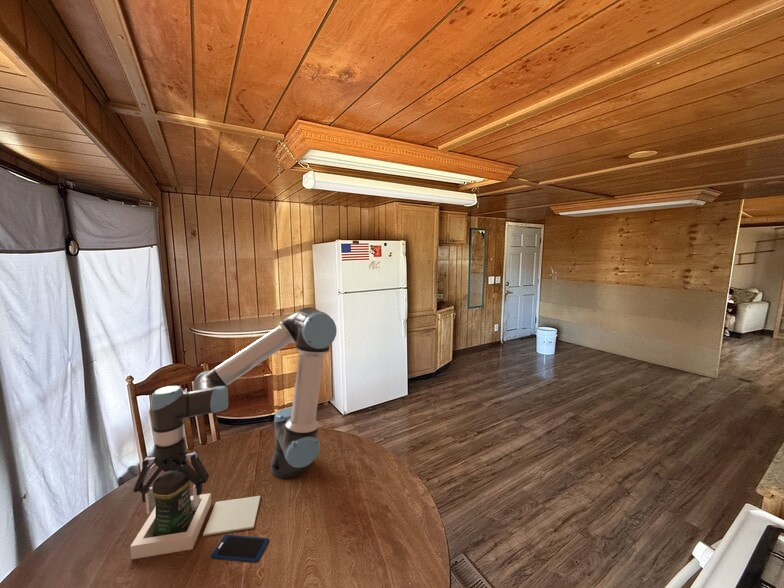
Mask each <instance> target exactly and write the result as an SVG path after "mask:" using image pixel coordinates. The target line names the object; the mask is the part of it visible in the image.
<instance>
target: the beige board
mask: <svg viewBox="0 0 784 588" xmlns="http://www.w3.org/2000/svg"><path fill="white" fill-rule="evenodd" d="M261 497H262V496H261V495H256V496H248V497H242V498H236V499H233V498H232V499H226V500H220V501H216V502H215V503H214V506H213V509H212V512H211V514H210V516H209V519H208V521H207V523H206V526H205V529H204V531H203V534H202V536H203V537H207V536H213V535H218V534H220V535H221V534H224V533H225V534H226V533H230V532H231V533H232V532H236V531H237V532H239V531H242V530H243V531H244V530H248V529H249V530H250V529H254V528H255V523H256V519H257V514H258V511H259V506H260V501H261Z"/></svg>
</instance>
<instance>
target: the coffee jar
mask: <svg viewBox="0 0 784 588" xmlns="http://www.w3.org/2000/svg"><path fill="white" fill-rule="evenodd" d="M181 466H182V465H181ZM191 483H192V482H191V481H190V480H189V479H188V478H187V477H186V476H185V475H184V474H183V473H182V472H179V471H178V470H175V471H171V470H170V471H167V472H164V473H162V474H161V475H160V476H159V477H157V478H155V480H154V481H153V482H152V487H153V498H154V499H155V507H156V517H155V533H154V537H156V536H163V535H169V534H175V533H182V532H186V531H187V530H188V528H189V526H190V523H191V521H192V519H193V517H194V511H192V505H191V498H190V496H191V491H190V490H191V489H190V487H191Z"/></svg>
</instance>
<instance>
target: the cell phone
mask: <svg viewBox="0 0 784 588" xmlns="http://www.w3.org/2000/svg"><path fill="white" fill-rule="evenodd" d="M269 542H270V539H269V538H267V537H259V536H247V535H235V534H225V535H224V536H223V537H222V539H221V540H220V542H219V543H218V545H217V546H216V547H215V549H214V550H213V552H212V553H211V554H210V558H211V559H215V560H224V561H225V560H226V561H236V562H245V563H258V562H259V561H260V560H261V558H262V556H263V554H264V553H265V550H266V549H267V546H268V544H269Z"/></svg>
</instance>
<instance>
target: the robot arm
mask: <svg viewBox="0 0 784 588" xmlns="http://www.w3.org/2000/svg"><path fill="white" fill-rule="evenodd" d="M337 329H338V328H337V325H336V323H335V321H334V319H333V318H332V317H331V316H330V315H328V314H327V313H326V312H324V311H321V310H319V309H316V308H315V307H309V306H307V307H302V308H301V309H299V310H296V311H295V312H293V313H292V314H290V315H288V316H287V317H285V318H284V319H283V320H281V321H280V322H279V324H278V326H277V327H275V328H274V329H272V330H271V331H269V332H268V333H266V334H264V335H263V336H261V337H260V338H259V339H257V340H255V341H254V342H252V343H251V344H250V345H248V346H247V347H245V348H243V349H242V350H240V351H239V352H237V353H235V354H234V355H233V356H231V357H229V358H227V359H226V360H224V361H223V362H222V363H220V364H219V365H217V366H216V367H214V368H212V369H210V370H207V371H202V372H200V373H199V374H197V376H196V377H195V379H194V382H193V386H192V388H193V390H191V391H184V390H183V388H182V386H179V385H167V386H164V387H160V388H158V389H156V390H155V391H154V392H152V393H151V397H150V399H151V401H150V402H151V404H150V405H151V406H150V411H151V422H152V432H153V433H152V435H153V439H152V440H153V444H154V445H153V448H154V449H153V450H154V451H153V453H154V457H151V455H147V456H146V457H144V460H143V461H142V462H141V466H142V467H141V470H140V472H139V476H138V477H137V480H136V483H135V485H134V488H133V489H132V490H133V491H132V492H133V493H138V492H139V493H140V494H141V500H142V503H143V504H144V503H145V510H146V512H145V513H146V515H151V513H152V511H153V510H154V508H155V502H154V499H155V497H154V495H153V486H151V485H153V483H154V481H155V480H156V479H157V478H158V476H159V475H160V473H161V472H162V471H164V473H165V472H167V471H170V470H171V471H175V470H178V471H179V472H182V473H183V474H184V475H185V476H186V477H187V478H188V479H189V480H190V481H191V482H190V483H192V484H193V486H192V496H193V501H194V507H197V505H198V503H199V501H200V495H202V492H203V490H204V489H203V484H206V483H207V481H208V479H209V477H210V476H209V473H208V472H207V470H206V468H205V466H204V464H203V463H202V461H201V459H200V457H199V452H198V450H194V451H193V452H191V453H189V452H188V453H187V450H186V448H187V447H186V436H185V433H186V432H185V419H187V418H192V417H198V416H202V415H203V416H204V415H209V414H216V413H218V412H222V411H225V410H227V409H228V407H229V390H228V387H227V386H229V385H230V384H232V383H233V382H234V381H236V380H237V379H239V378H240V377H242V376H243V375H245V374H246V373H248V372H250V370H252V369H253V368H255V367H257V366H258V365H259V364H261V363H263V362H264V361H266V360H267V359H269V358H270V357H272V355H274V354H276V353H277V352H279V351H280V350H282V349H283V348H284V347H287V346H288V345H289V344H290V343H291V344H292V343H293V344H295V350H297V352H298V353H299V354H298V355H299V356H298V361H297V362H298V363H297V368H296V370H297V371H296V375H295V384H294V391H293V399H292V406H289V407H286V408H282V409H280V410H278V411H276V413H275V414H274V420H273V422H274V452H273V455H272V458H271V461H270V471H271V474H272V475H274V476H275V477H276V478H281V479H288V478H289V479H290V478H295V477H298V476H300V475H302V474H304V473H305V472H307V470H308V469H309V468H310V466H311V464H312V463H313V461H315V460H316V459H317V458H318V456H319V454H320V453H321V452H320V451H321V444H320V440H319V439H318V436H319V435H318V434H319V428H320V423H319V422H318V420H317V418H316V417H317V410H318V404H319V395H320V394H319V393H320V389H321V381H322V373H323V367H324V360H325V359H324V358H325V356H326V354H328V353H329V352H330V348H331V344H332V343H333V342H334V341H335V339H336V337H337ZM187 460H188V461H189V462H190V463H191V465H190V464H189V462H188V461H187ZM152 464H155V465H156V467H157V469H156V470H155V472H153V474H152V476H151V477H150V478H149V479H148V481H147V482H146V483H145V484H144V482H145V480H146V478H147V474H148V472H149V470H150V467H151V466H152ZM181 465H182V466H181Z"/></svg>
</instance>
